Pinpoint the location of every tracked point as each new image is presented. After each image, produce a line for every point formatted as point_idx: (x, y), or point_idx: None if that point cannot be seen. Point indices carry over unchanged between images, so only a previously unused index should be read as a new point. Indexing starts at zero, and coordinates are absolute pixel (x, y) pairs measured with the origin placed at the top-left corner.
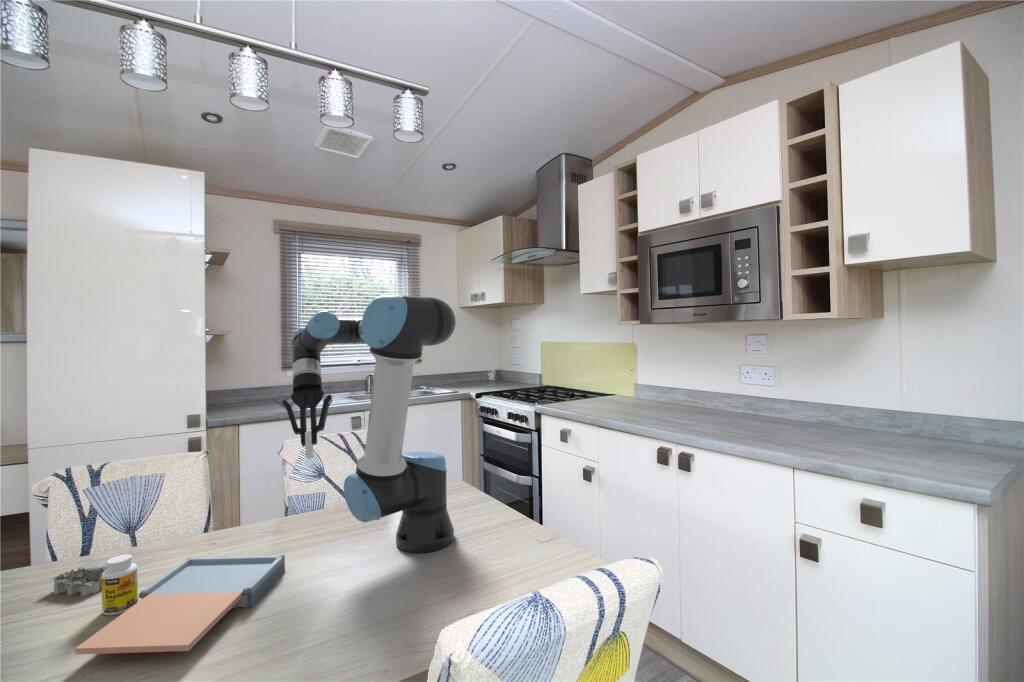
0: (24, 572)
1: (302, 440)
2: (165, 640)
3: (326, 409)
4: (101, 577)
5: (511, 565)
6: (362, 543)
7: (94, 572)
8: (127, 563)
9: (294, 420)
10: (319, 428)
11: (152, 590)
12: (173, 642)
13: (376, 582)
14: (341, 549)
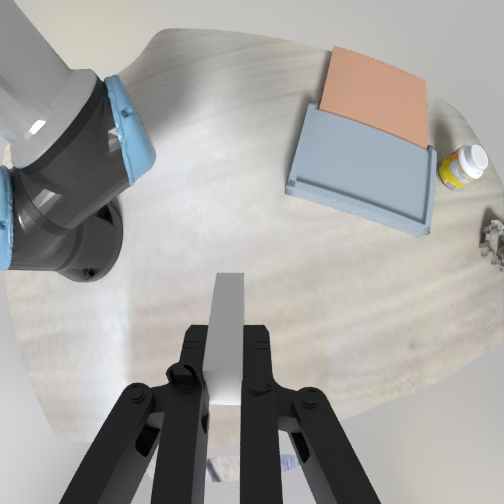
0: None
1: (260, 343)
2: (358, 57)
3: (69, 488)
4: (492, 256)
5: None
6: (169, 261)
7: (501, 263)
8: (468, 150)
9: (325, 461)
10: (152, 389)
11: (429, 159)
12: (349, 52)
13: (161, 132)
14: (202, 248)
